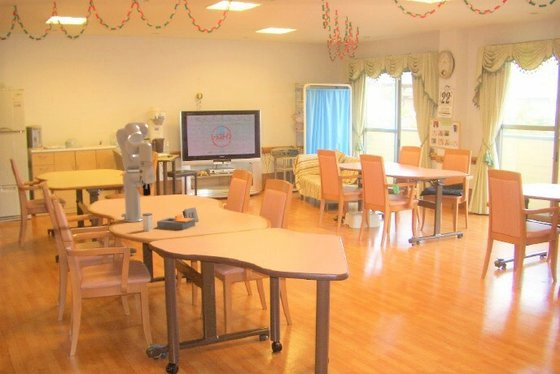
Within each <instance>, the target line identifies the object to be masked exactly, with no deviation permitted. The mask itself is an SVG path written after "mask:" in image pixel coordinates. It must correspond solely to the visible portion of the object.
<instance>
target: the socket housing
mask: <svg viewBox="0 0 560 374" xmlns="http://www.w3.org/2000/svg"><path fill="white" fill-rule="evenodd" d="M174 220H175V217H167V218H164V219H161V220H157V221H156V227H157V229H164V228H166V229H167V230H176V229H179V230H178V231H184V230H187V229H190V228H192V227H195V226H196V222H195V219H193V220H191V221H188V222H174Z"/></svg>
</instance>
